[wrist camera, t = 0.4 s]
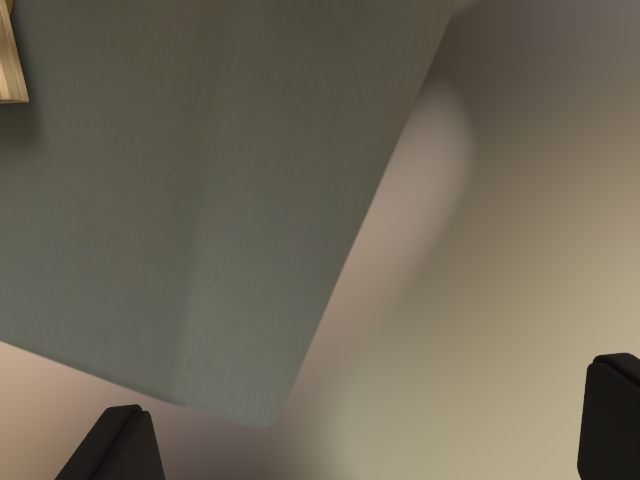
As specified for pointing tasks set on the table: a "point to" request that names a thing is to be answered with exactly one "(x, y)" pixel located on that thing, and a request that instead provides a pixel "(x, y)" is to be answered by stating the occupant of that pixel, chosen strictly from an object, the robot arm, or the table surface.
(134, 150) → the table surface
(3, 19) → the tray
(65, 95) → the table surface
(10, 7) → the turntable base
